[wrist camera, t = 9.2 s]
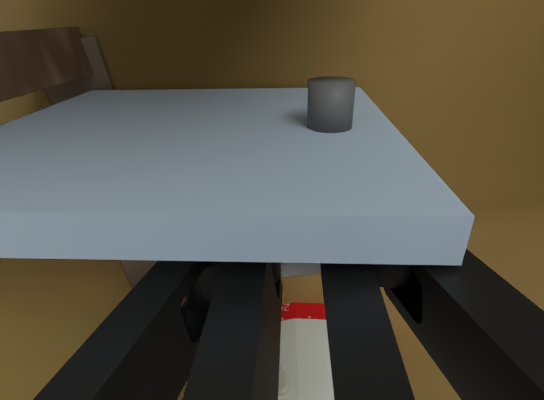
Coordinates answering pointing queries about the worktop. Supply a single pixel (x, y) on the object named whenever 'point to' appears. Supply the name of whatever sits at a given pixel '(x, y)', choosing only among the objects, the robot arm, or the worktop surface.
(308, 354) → the kitchen timer
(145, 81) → the worktop surface
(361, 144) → the door
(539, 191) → the worktop surface
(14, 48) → the door frame
